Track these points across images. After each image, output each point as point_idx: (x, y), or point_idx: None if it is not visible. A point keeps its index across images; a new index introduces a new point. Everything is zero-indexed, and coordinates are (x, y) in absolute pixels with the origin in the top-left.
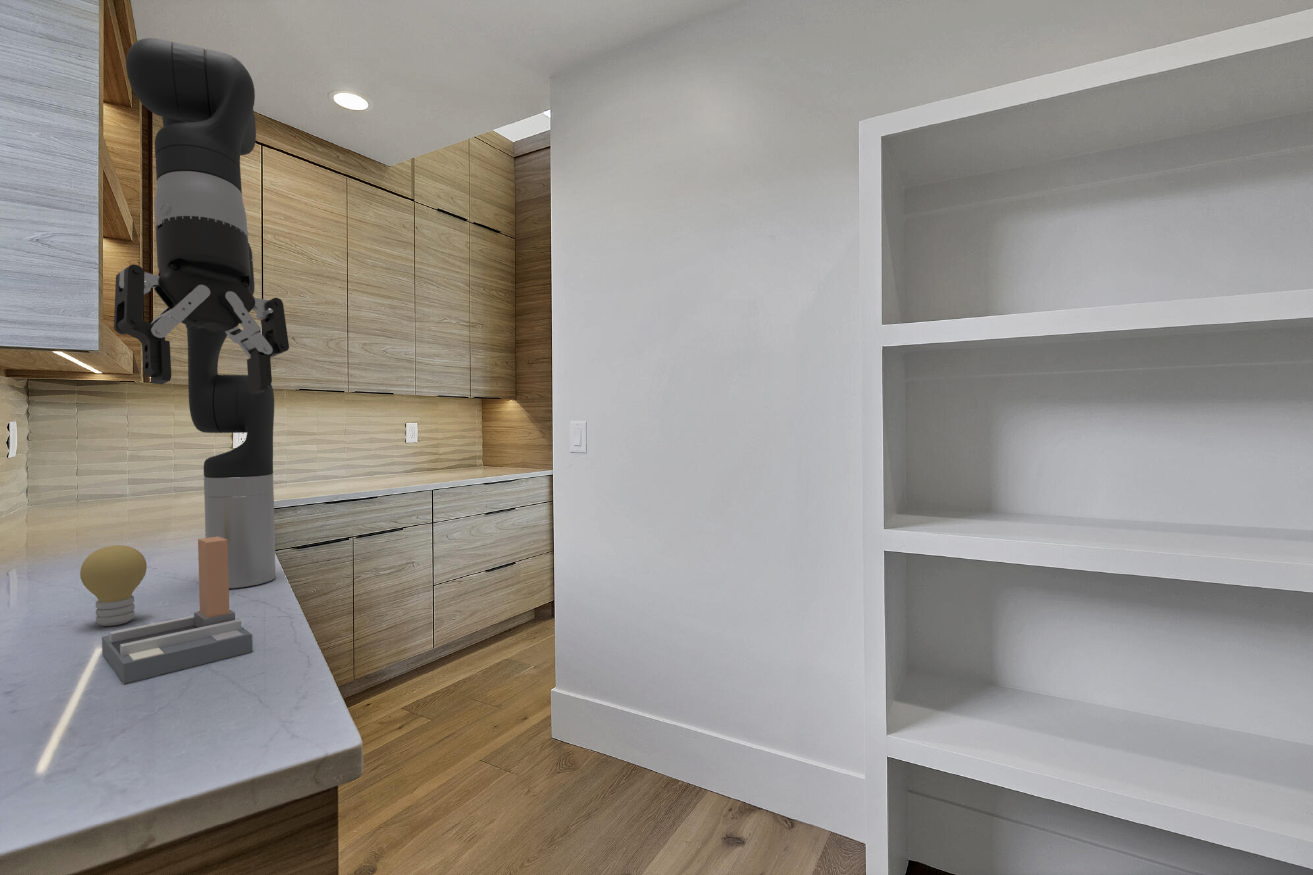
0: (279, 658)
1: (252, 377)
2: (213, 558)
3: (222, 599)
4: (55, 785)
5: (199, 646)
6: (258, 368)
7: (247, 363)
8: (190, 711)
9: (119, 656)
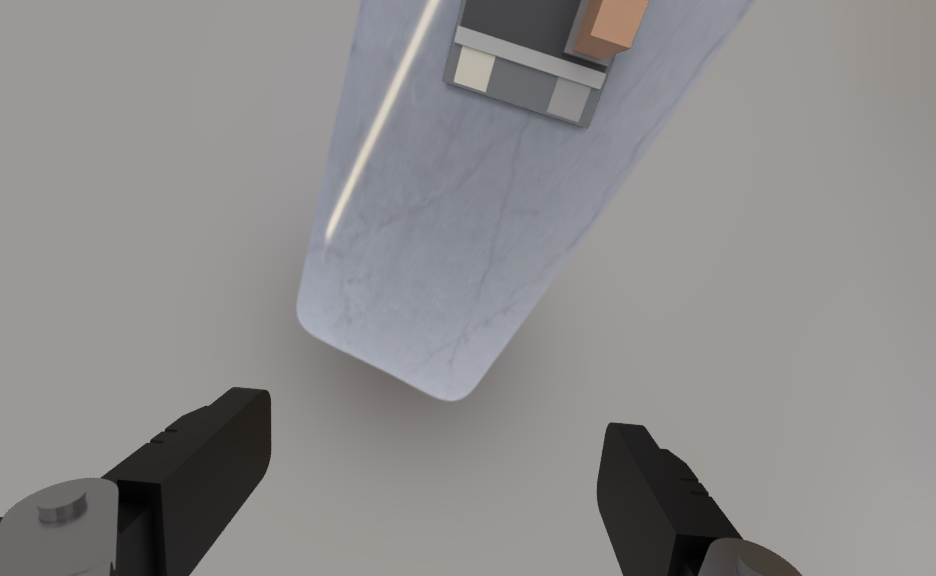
0: (577, 187)
1: (623, 489)
2: (596, 43)
3: (596, 54)
4: (327, 269)
5: (523, 107)
6: (623, 567)
7: (666, 515)
8: (439, 237)
9: (454, 38)
